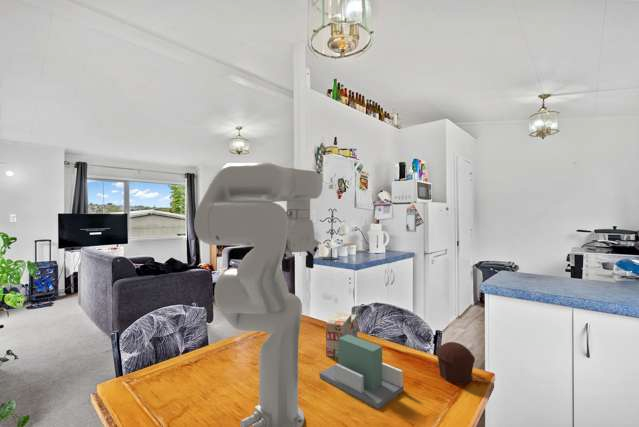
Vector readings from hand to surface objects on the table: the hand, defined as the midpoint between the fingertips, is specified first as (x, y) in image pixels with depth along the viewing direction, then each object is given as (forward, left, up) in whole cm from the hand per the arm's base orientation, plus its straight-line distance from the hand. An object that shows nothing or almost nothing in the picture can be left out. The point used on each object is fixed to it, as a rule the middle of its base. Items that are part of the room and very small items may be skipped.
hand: (298, 269), depth 100 cm
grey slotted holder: (+10, -17, -33) cm, 39 cm away
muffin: (+35, -35, -34) cm, 60 cm away
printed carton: (+27, +5, -34) cm, 43 cm away
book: (+10, -17, -32) cm, 37 cm away
